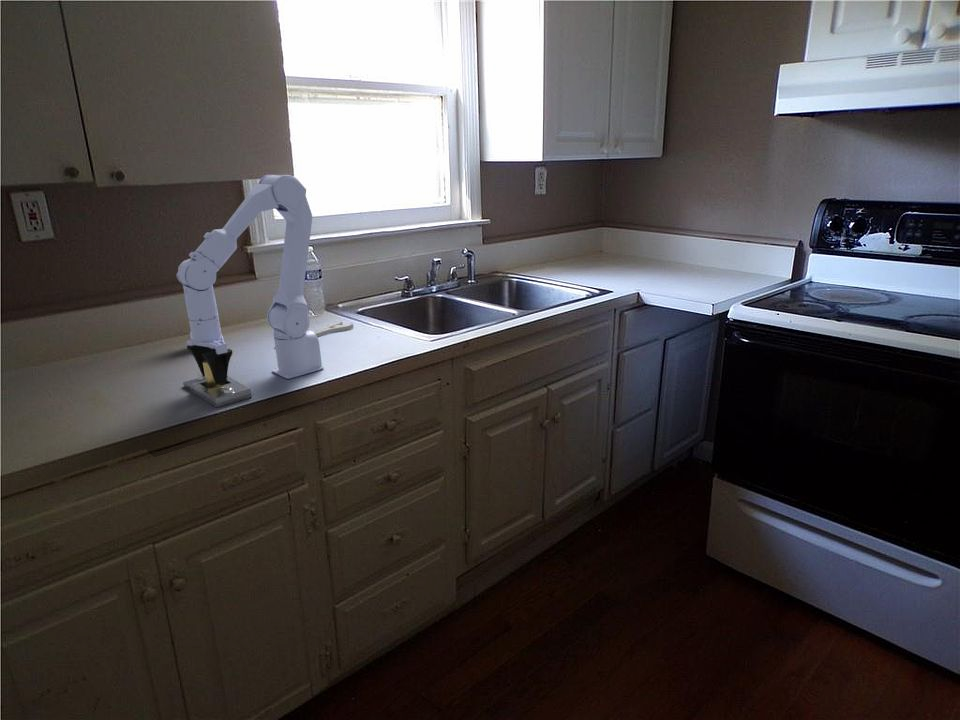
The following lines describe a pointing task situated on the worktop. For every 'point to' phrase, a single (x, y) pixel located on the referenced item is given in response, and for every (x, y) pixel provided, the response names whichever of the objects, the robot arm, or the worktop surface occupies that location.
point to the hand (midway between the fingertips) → (214, 378)
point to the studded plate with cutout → (218, 391)
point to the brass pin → (210, 377)
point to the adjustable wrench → (334, 328)
